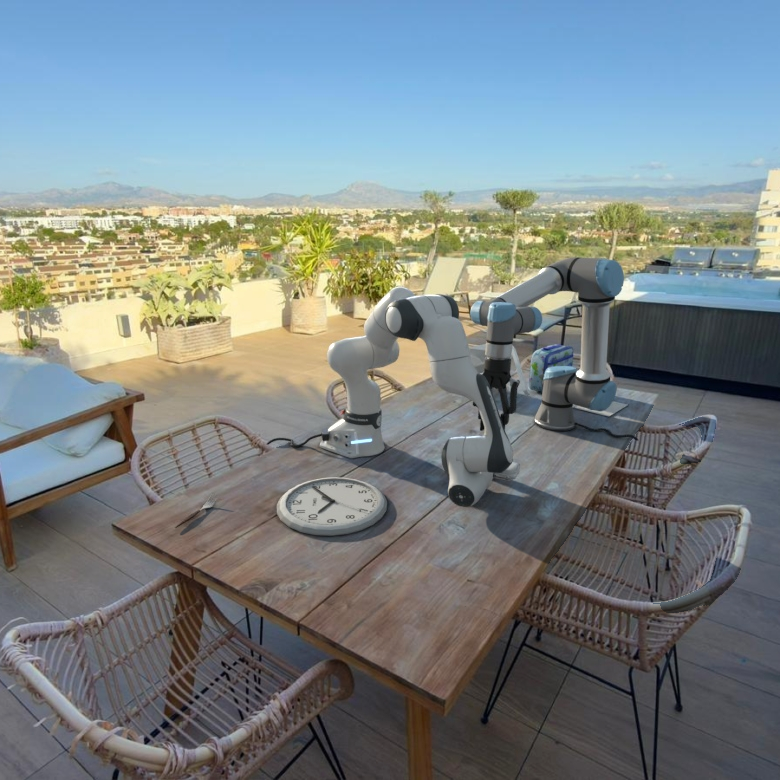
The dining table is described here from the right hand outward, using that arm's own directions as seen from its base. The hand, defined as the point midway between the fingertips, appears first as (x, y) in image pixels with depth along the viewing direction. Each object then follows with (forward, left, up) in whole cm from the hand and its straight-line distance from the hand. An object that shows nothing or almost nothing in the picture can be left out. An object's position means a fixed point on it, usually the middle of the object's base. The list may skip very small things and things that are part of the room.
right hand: (492, 431), depth 158 cm
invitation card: (-52, -74, -14) cm, 91 cm away
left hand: (0, -1, -8) cm, 8 cm away
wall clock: (+44, +25, -14) cm, 53 cm away
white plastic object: (-1, -86, -14) cm, 87 cm away
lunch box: (-34, -97, -14) cm, 104 cm away
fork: (+78, +35, -14) cm, 87 cm away
